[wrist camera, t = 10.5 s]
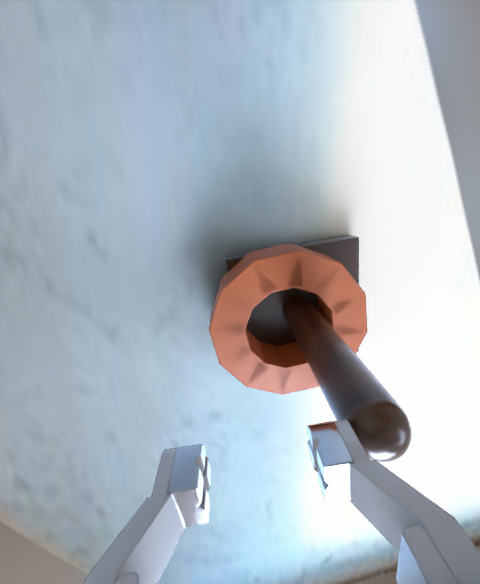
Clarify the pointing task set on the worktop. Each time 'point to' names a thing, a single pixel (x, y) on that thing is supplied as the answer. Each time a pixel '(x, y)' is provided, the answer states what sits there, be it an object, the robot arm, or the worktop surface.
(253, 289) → the ring
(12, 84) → the worktop surface
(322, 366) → the peg stand
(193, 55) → the worktop surface
